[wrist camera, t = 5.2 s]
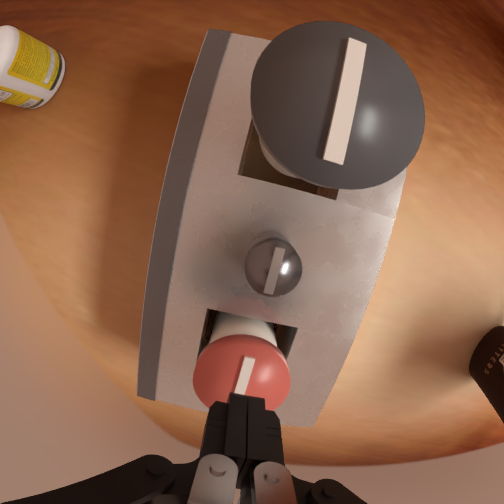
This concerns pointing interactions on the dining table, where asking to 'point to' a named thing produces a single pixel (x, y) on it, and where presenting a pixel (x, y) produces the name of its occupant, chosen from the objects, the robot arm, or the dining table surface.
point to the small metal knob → (272, 265)
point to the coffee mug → (490, 368)
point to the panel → (239, 237)
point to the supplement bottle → (27, 69)
